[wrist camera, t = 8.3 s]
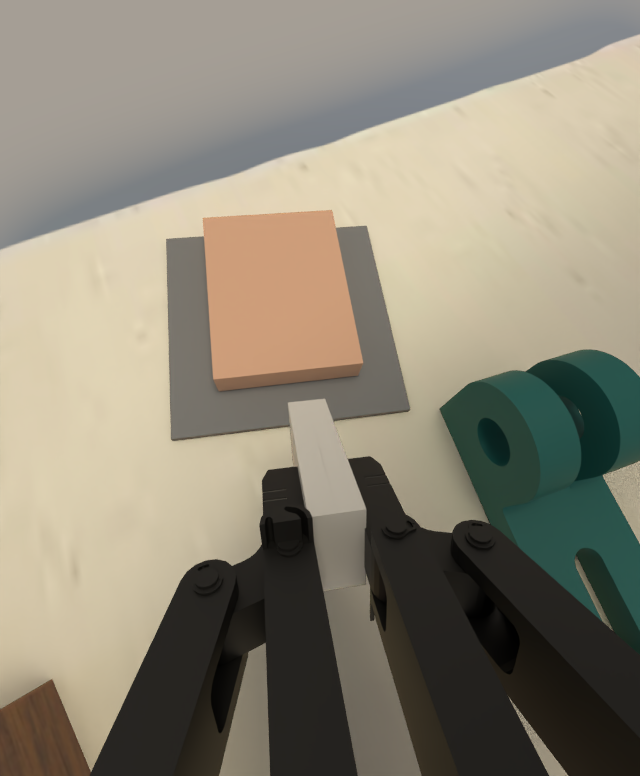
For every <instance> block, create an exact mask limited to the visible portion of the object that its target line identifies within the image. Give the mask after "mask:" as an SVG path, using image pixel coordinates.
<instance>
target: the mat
mask: <svg viewBox="0 0 640 776" xmlns="http://www.w3.org/2000/svg"><path fill="white" fill-rule="evenodd" d="M336 232H337V237H338V242H339V247H340V251H341V256H342V261H343V266H344V271H345V276H346V281H347V286H348V291H349V295H350V300H351V305H352V310H353V315H354V320H355V325H356V330H357V335H358V339H359V344H360V349H361V354H362V359H363V365H362V368H361V370H360V372H359V375H358V376H351V377H342V378H333V379H324V380H315V381H306V382H297V383H289V384H280V385H271V386H262V387H253V388H244V389H235V390H226V391H218V389H217V387H216V384H215V382H214V380H213V368H212V352H211V337H210V321H209V305H208V290H207V274H206V259H205V243H204V237H189V238H173V239H166V246H167V287H168V329H169V370H170V411H171V440H173V441H175V440H183V439H191V438H199V437H207V436H215V435H223V434H231V433H239V432H247V431H255V430H263V429H271V428H279V427H287V426H290V423H289V411H288V402H297V401H307V400H316V399H325V400H326V403H327V406H328V408H329V411H330V414H331V416H332V419H333V421H334V420H342V419H350V418H358V417H366V416H374V415H382V414H390V413H398V412H406V411H409V410H410V406H409V402H408V398H407V393H406V389H405V385H404V381H403V377H402V372H401V368H400V364H399V360H398V356H397V351H396V347H395V343H394V339H393V335H392V330H391V326H390V322H389V318H388V314H387V309H386V305H385V301H384V297H383V293H382V288H381V284H380V280H379V276H378V272H377V267H376V263H375V259H374V255H373V251H372V246H371V242H370V238H369V234H368V230H367V226H356V227H340V228H336Z"/></svg>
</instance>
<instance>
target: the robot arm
mask: <svg viewBox="0 0 640 776" xmlns="http://www.w3.org/2000/svg"><path fill="white" fill-rule="evenodd" d="M288 411H289V423H290V434H291V446H292V458H293V465H294V467H289V468H281V469H273V470H268V471H267V473H266V474H265V476H264V478H263V480H262V491H263V516H262V517H261V521H260V532H261V540H262V545H261V547H260V548H259V550H258V551H257V552H256V553H255V554H254V555H253V556H251V557H250V558H248V559H246V560H245V561H243V562H241V563H238V564H236V565H234V566H231V565H230V564H229V563H227V562H226V561H222V560H217V559H215V560H207V561H204V562H202V563H199V564H197V565H195V566H194V567H192V568H191V569H190V570H189V571H187V572H186V574H185V575H184V577H183V578H182V580H181V581H180V583H179V585H178V588H177V590H176V592H175V594H174V596H173V598H172V600H171V603H170V605H169V607H168V609H167V611H166V613H165V615H164V618H163V620H162V622H161V624H160V626H159V628H158V630H157V633H156V635H155V637H154V639H153V641H152V643H151V645H150V647H149V650H148V652H147V654H146V656H145V658H144V660H143V662H142V665H141V667H140V669H139V671H138V673H137V675H136V677H135V680H134V682H133V684H132V686H131V688H130V690H129V692H128V695H127V697H126V699H125V701H124V703H123V705H122V707H121V710H120V712H119V714H118V716H117V718H116V720H115V722H114V724H113V727H112V729H111V731H110V733H109V735H108V737H107V739H106V742H105V744H104V746H103V748H102V750H101V752H100V754H99V757H98V759H97V761H96V763H95V765H94V767H93V769H92V772H91V774H90V776H219V773H220V769H221V765H222V761H223V756H224V752H225V748H226V744H227V740H228V736H229V732H230V728H231V723H232V719H233V715H234V711H235V707H236V703H237V699H238V695H239V691H240V686H241V682H242V678H243V674H244V670H245V666H246V662H247V658H248V652H249V651H251V650H252V649H254V648H256V647H258V646H260V645H262V644H264V643H266V658H267V688H268V718H269V748H270V776H358V775H357V769H356V764H355V759H354V753H353V748H352V743H351V737H350V732H349V727H348V721H347V716H346V711H345V705H344V700H343V694H342V689H341V684H340V678H339V673H338V668H337V662H336V657H335V652H334V646H333V641H332V635H331V630H330V625H329V619H328V614H327V609H326V603H325V598H324V593H323V591H328V590H334V589H340V588H347V587H353V586H359V585H365V584H366V574H367V577H368V581H369V584H370V621H373V620H374V615H375V618H376V622H377V625H378V628H379V632H380V635H381V639H382V642H383V645H384V649H385V652H386V656H387V659H388V662H389V666H390V669H391V673H392V676H393V679H394V683H395V686H396V690H397V693H398V696H399V700H400V703H401V706H402V710H403V713H404V717H405V720H406V723H407V727H408V730H409V734H410V737H411V740H412V744H413V747H414V751H415V754H416V757H417V761H418V764H419V768H420V771H421V774H422V776H549V775H548V773H547V771H546V769H545V767H544V765H543V763H542V761H541V759H540V757H539V755H538V753H537V752H536V750H535V748H534V746H533V744H532V742H531V740H530V738H529V736H528V734H527V732H526V730H525V728H524V726H523V725H522V723H521V721H520V719H519V717H518V715H517V713H516V711H515V709H514V707H513V705H512V703H511V701H510V699H511V700H512V702H513V703H514V704H515V706H516V707H517V708H518V709H519V711H520V712H521V713H522V715H523V716H524V717H525V719H526V720H527V721H528V723H529V724H530V725H531V727H532V728H533V729H534V731H535V732H536V733H537V735H538V736H539V737H540V738H541V740H542V741H543V742H544V744H545V745H546V746H547V748H548V749H549V750H550V752H551V753H552V754H553V756H554V757H555V758H556V760H557V761H558V762H559V763H560V765H561V766H562V767H563V769H564V770H565V771H566V773H567V774H568V775H569V776H640V655H639V654H638V653H637V652H636V651H635V650H634V649H633V648H631V647H630V646H629V645H628V644H627V643H626V642H625V641H624V640H622V639H621V638H620V637H619V636H618V635H617V634H616V633H614V632H613V631H612V630H611V629H610V628H609V627H608V626H607V625H605V624H604V623H603V622H602V621H601V620H600V619H599V618H598V617H596V616H595V615H594V614H593V613H592V612H591V611H590V610H589V609H587V608H586V607H585V606H584V605H583V604H582V603H581V602H580V601H578V600H577V599H576V598H575V597H574V596H573V595H572V594H571V593H569V592H568V591H567V590H566V589H565V588H564V587H563V586H562V585H560V584H559V583H558V582H557V581H556V580H555V579H554V578H553V577H551V576H550V575H549V574H548V573H547V572H546V571H545V570H544V569H542V568H541V567H540V566H539V565H538V564H537V563H536V562H535V561H533V560H532V559H531V558H530V557H529V556H528V555H527V554H526V553H524V552H523V551H522V550H521V549H520V548H519V547H518V546H517V545H515V544H514V543H513V542H512V541H511V540H510V539H509V538H508V537H506V536H505V535H504V534H503V533H502V532H501V531H500V530H498V529H497V528H495V527H494V526H492V525H490V524H488V523H485V522H482V521H476V520H468V521H463V522H461V523H459V524H457V525H456V526H455V528H454V530H453V532H452V533H445V532H436V531H431V530H426V529H424V528H421V527H420V526H419V525H418V523H417V522H416V521H415V520H414V519H412V518H411V517H409V516H407V515H406V514H405V513H404V511H403V509H402V507H401V505H400V503H399V501H398V499H397V497H396V495H395V492H394V490H393V488H392V486H391V484H390V483H389V480H388V478H387V476H386V475H385V472H384V470H383V468H382V466H381V464H380V463H378V462H377V461H376V460H374V459H373V458H372V457H371V456H369V457H361V458H353V459H347V456H346V454H345V451H344V448H343V446H342V443H341V440H340V438H339V435H338V432H337V430H336V427H335V424H334V422H333V419H332V416H331V414H330V411H329V408H328V406H327V403H326V400H325V399H316V400H307V401H297V402H288ZM507 695H508V696H509V697H508V696H507ZM509 698H510V699H509Z"/></svg>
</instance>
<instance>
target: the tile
mask: <svg viewBox="0 0 640 776" xmlns="http://www.w3.org/2000/svg"><path fill="white" fill-rule="evenodd" d="M203 228H204V243H205V259H206V274H207V290H208V305H209V321H210V337H211V352H212V368H213V380H214V382H215V384H216V387H217V389H218V391H226V390H235V389H244V388H253V387H262V386H271V385H280V384H289V383H297V382H306V381H315V380H324V379H333V378H342V377H351V376H358V375H359V372H360V370H361V368H362V365H363V359H362V354H361V349H360V344H359V339H358V335H357V330H356V325H355V320H354V315H353V310H352V305H351V300H350V295H349V291H348V286H347V281H346V276H345V271H344V266H343V261H342V256H341V251H340V247H339V242H338V237H337V232H336V227H335V222H334V217H333V212H332V210H327V211H310V212H293V213H277V214H260V215H244V216H227V217H211V218H203Z"/></svg>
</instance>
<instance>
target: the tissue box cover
mask: <svg viewBox="0 0 640 776" xmlns="http://www.w3.org/2000/svg"><path fill="white" fill-rule="evenodd" d="M90 774H91V772H90V769H89V767H88V764H87V762H86V760H85V757H84V755H83V752H82V750H81V748H80V745H79V743H78V740H77V738H76V736H75V733H74V731H73V728H72V726H71V724H70V721H69V719H68V716H67V714H66V712H65V709H64V707H63V704H62V702H61V700H60V697H59V695H58V692H57V690H56V688H55V685H54V683H53V680H52V679H51V680H50V681H48V682H46V683H45V684H43V685H41V686H40V687H38V688H36V689H34V690H33V691H31V692H29V693H28V694H26V695H24V696H22V697H21V698H19V699H17V700H16V701H14V702H12V703H11V704H9V705H7V706H5V707H4V708H2V709H0V776H90Z"/></svg>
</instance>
